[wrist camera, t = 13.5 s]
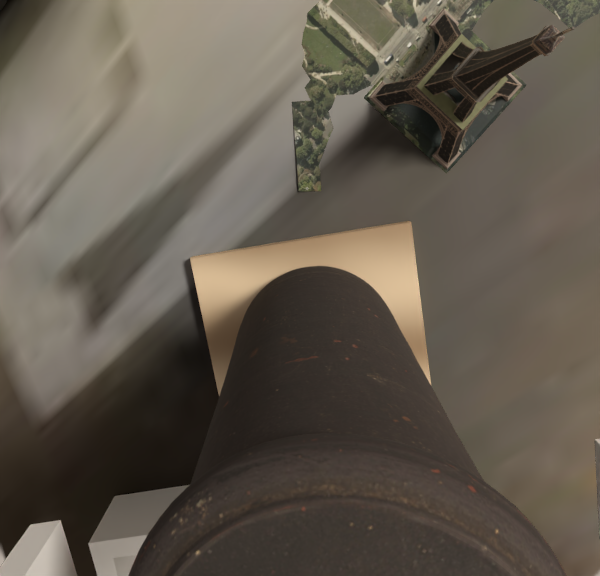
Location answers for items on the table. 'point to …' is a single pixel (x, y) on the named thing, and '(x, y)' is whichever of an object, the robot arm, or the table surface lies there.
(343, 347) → the container
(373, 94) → the eiffel tower figurine
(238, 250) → the cork mat
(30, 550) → the robot arm
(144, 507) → the frame
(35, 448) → the table surface
